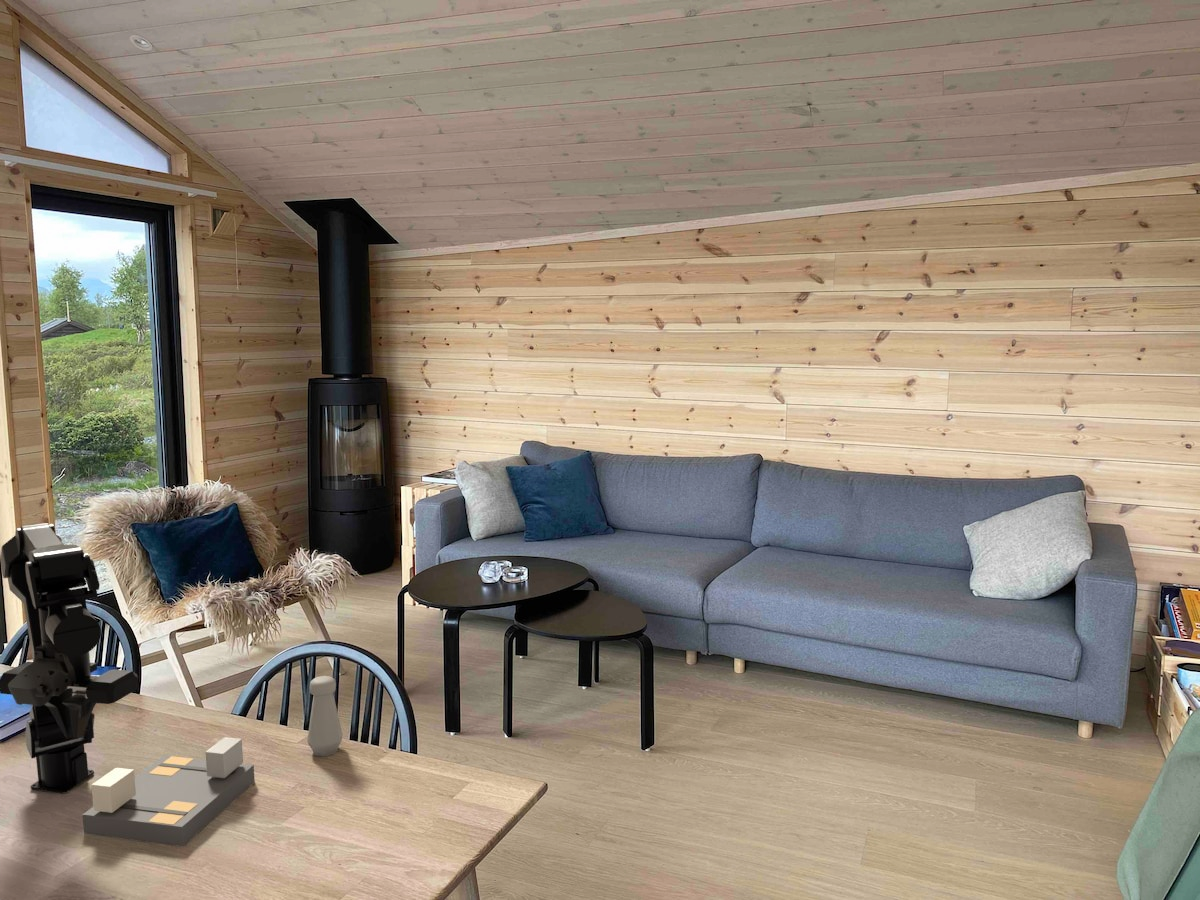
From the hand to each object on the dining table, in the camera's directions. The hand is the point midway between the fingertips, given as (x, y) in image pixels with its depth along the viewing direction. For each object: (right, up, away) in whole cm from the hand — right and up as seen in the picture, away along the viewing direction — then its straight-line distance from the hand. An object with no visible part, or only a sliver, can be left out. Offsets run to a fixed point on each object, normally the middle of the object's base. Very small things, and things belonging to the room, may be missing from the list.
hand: (74, 737), depth 134 cm
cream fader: (+6, -10, 0) cm, 11 cm away
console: (+12, -12, +6) cm, 18 cm away
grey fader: (+18, -8, +10) cm, 22 cm away
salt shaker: (+30, -10, +23) cm, 39 cm away
